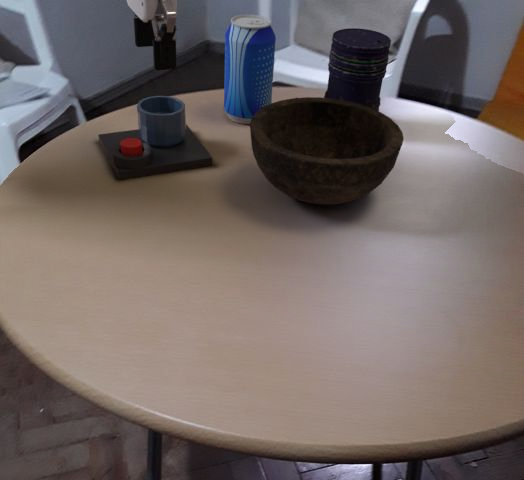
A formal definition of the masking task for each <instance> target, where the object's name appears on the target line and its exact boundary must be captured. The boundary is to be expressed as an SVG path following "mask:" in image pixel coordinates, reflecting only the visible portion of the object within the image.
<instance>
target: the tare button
mask: <svg viewBox="0 0 524 480" xmlns="http://www.w3.org/2000/svg"><path fill="white" fill-rule="evenodd" d="M120 146H121V153H122V154H124V155H127V156H134V155H139V154H141V153H142V142H141V140H139V139H136V138H126V139H123V140H122V141H121V142H120Z"/></svg>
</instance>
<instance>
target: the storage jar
mask: <svg viewBox="0 0 524 480" xmlns="http://www.w3.org/2000/svg"><path fill="white" fill-rule="evenodd" d="M331 37H332V38H331V45H330V50H329V57H328V59H329V60H328V63H327V69H328V80H327V87H326V91H325V92H324V96H323V98H332V99H339V100H345V101H350V102H354V103H358V104H361V105H364V106H367V107H370V108H372V109H375V110H377V111H379V112H380V106H381V92H382V91H381V90H382V86H383V80H384V78H385V77H386V74H387V67H388V65H389V58H390V56H389V55H390V48H391V45H392V39H391V38H390V37H389V36H388V35H387V34H384V33H382V32H380V31H376V30H372V29H368V28H358V27H357V28H350V27H349V28H341V29H338V30H336V31H334V32H333V33H332V36H331Z"/></svg>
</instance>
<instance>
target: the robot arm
mask: <svg viewBox="0 0 524 480" xmlns="http://www.w3.org/2000/svg"><path fill="white" fill-rule="evenodd" d="M126 4H127V6H128V7H129V8H130V9H131V11H132V14H133V28H134V29H133V31H134V45H135V46H136V47H137V48H147V47H152V54H153V55H152V57H153V68H154V69H155V71H168V70H176V68H177V32H176V31H177V25H176V23H177V15H178V0H126ZM159 24H161V25H160V26H159Z"/></svg>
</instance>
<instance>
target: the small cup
mask: <svg viewBox="0 0 524 480" xmlns="http://www.w3.org/2000/svg"><path fill="white" fill-rule="evenodd" d="M136 112H137V123H138V129H139V136H140V137H141V139H142V140H143V141H144V142H145V143H147V144H148V145H151V146H154V147H172V146H176V145H178V144H180V143H181V142H182V140H184V139H185V138H186V124H187V121H186V119H187V117H186V116H187V115H186V103H184V101H183V100H181V99H180V98H178V97H174V96H169V95H154V96H153V95H152V96H148V97H145V98H142V99H140V100H139V101H138V102H137V105H136Z"/></svg>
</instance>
